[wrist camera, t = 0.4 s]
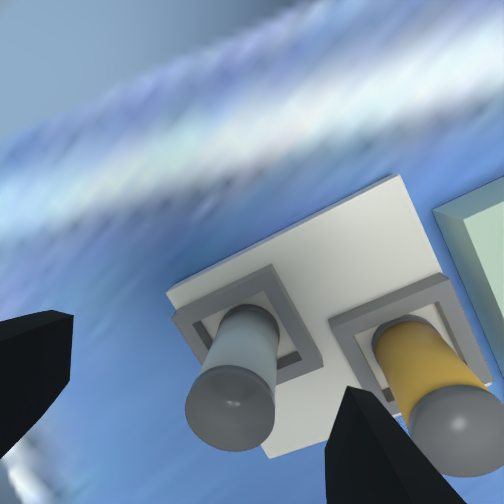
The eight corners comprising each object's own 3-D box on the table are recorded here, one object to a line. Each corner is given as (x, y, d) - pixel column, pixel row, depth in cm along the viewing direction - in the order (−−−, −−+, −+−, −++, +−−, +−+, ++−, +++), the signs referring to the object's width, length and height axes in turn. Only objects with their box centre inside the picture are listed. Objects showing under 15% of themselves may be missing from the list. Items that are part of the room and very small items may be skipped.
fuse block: (478, 370, 18) (504, 398, 16) (270, 442, 21) (268, 474, 18) (391, 174, 16) (407, 175, 14) (173, 285, 18) (158, 300, 16)
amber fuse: (448, 357, 16) (534, 461, 11) (386, 380, 17) (435, 488, 11) (424, 303, 16) (500, 382, 10) (361, 329, 17) (398, 416, 11)
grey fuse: (290, 345, 17) (290, 435, 12) (237, 367, 18) (213, 462, 12) (261, 294, 17) (246, 361, 11) (208, 319, 17) (168, 394, 12)
